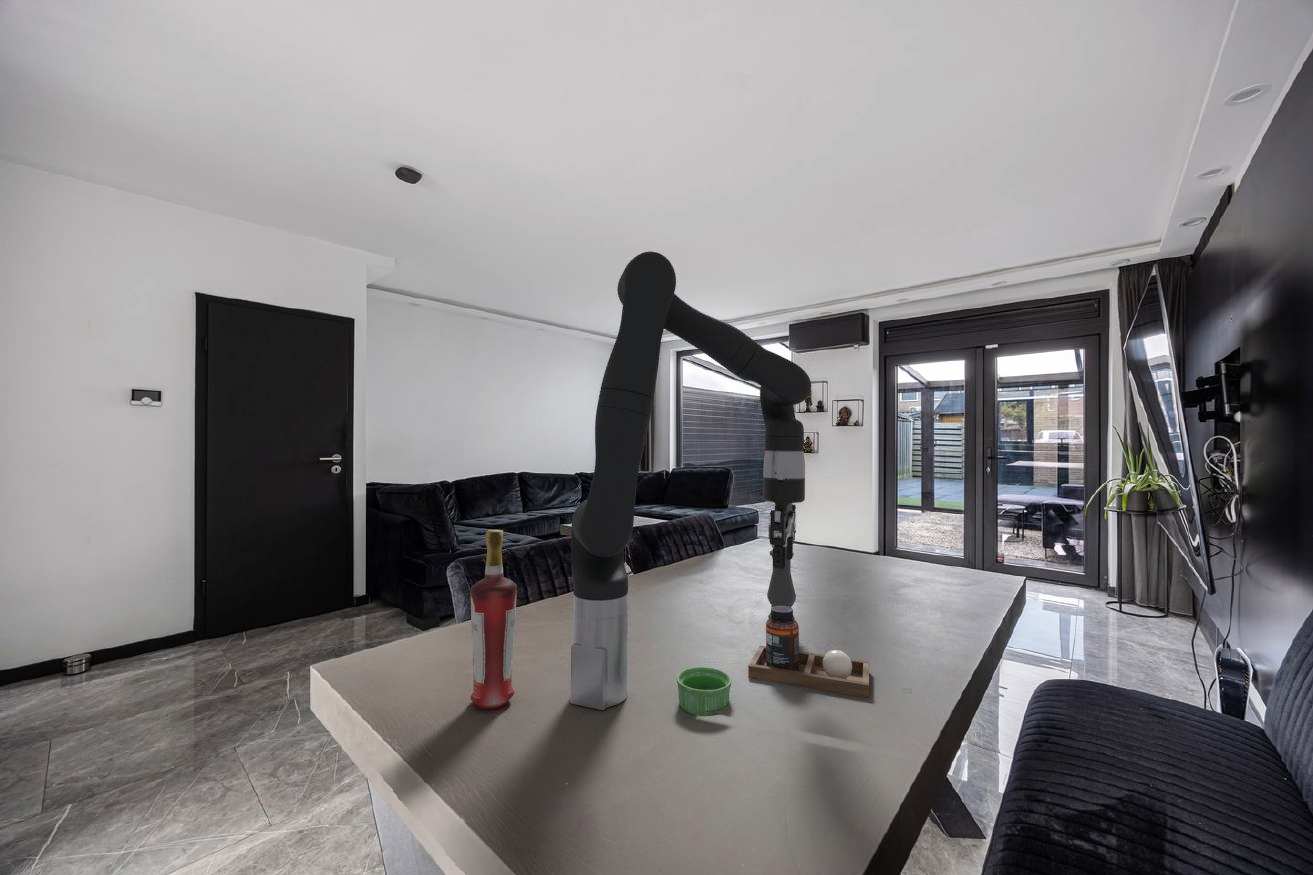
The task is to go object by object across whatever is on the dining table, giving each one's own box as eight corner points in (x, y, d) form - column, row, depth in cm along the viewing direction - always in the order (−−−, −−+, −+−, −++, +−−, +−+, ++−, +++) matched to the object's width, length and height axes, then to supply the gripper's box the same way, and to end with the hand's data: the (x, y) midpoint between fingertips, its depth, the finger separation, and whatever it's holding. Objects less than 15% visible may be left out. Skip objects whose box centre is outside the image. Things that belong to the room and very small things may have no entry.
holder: (868, 703, 88) (868, 685, 88) (748, 682, 95) (748, 665, 95) (869, 677, 97) (869, 661, 97) (759, 660, 105) (759, 645, 105)
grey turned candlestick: (788, 646, 112) (789, 527, 113) (762, 639, 116) (762, 525, 117) (800, 638, 117) (800, 524, 118) (774, 632, 121) (774, 521, 122)
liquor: (468, 696, 89) (470, 528, 90) (513, 689, 92) (515, 526, 92) (469, 717, 82) (471, 535, 83) (518, 709, 85) (520, 533, 85)
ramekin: (686, 722, 81) (686, 693, 82) (669, 695, 90) (669, 669, 90) (740, 714, 84) (740, 686, 84) (718, 689, 93) (719, 664, 93)
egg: (851, 687, 91) (851, 658, 91) (821, 682, 93) (821, 653, 93) (852, 675, 96) (852, 647, 96) (823, 671, 98) (823, 643, 98)
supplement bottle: (796, 664, 101) (796, 604, 101) (801, 678, 95) (801, 614, 95) (764, 662, 101) (764, 603, 101) (767, 676, 95) (767, 613, 95)
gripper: (770, 473, 107) (769, 554, 106) (756, 476, 93) (755, 569, 93) (809, 474, 104) (808, 558, 103) (799, 478, 91) (799, 573, 90)
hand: (783, 563), depth 98 cm, fingers open, 8 cm apart
